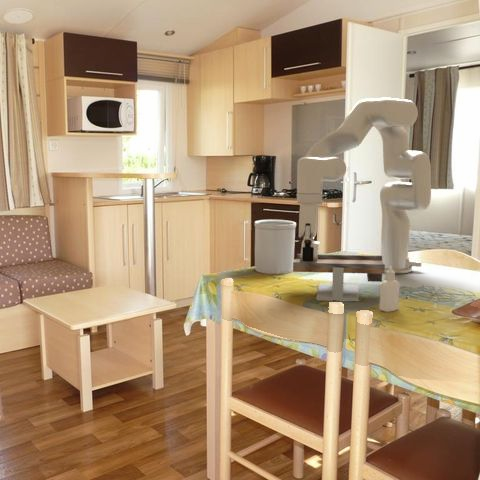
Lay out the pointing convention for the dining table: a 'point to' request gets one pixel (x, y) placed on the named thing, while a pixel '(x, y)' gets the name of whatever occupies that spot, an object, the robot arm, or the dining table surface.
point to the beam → (345, 265)
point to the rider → (315, 252)
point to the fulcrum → (337, 289)
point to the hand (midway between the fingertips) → (308, 258)
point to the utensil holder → (274, 246)
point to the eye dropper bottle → (389, 292)
